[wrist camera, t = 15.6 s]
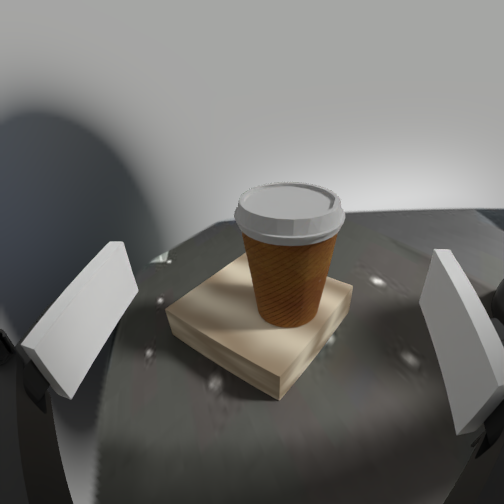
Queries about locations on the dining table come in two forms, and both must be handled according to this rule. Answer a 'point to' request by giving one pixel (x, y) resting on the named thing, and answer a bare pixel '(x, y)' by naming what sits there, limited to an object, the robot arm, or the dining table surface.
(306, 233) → the disposable coffee cup
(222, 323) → the wooden base block
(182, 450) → the dining table surface
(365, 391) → the dining table surface
